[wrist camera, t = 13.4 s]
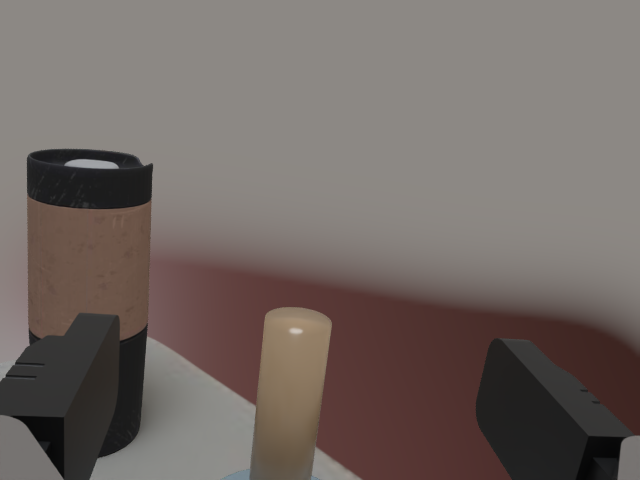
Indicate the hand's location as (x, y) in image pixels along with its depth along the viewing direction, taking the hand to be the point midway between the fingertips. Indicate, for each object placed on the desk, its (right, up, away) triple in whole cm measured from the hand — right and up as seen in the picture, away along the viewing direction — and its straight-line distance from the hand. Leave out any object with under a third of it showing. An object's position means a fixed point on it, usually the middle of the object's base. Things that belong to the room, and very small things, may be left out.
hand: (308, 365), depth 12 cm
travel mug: (-17, -11, +30) cm, 36 cm away
